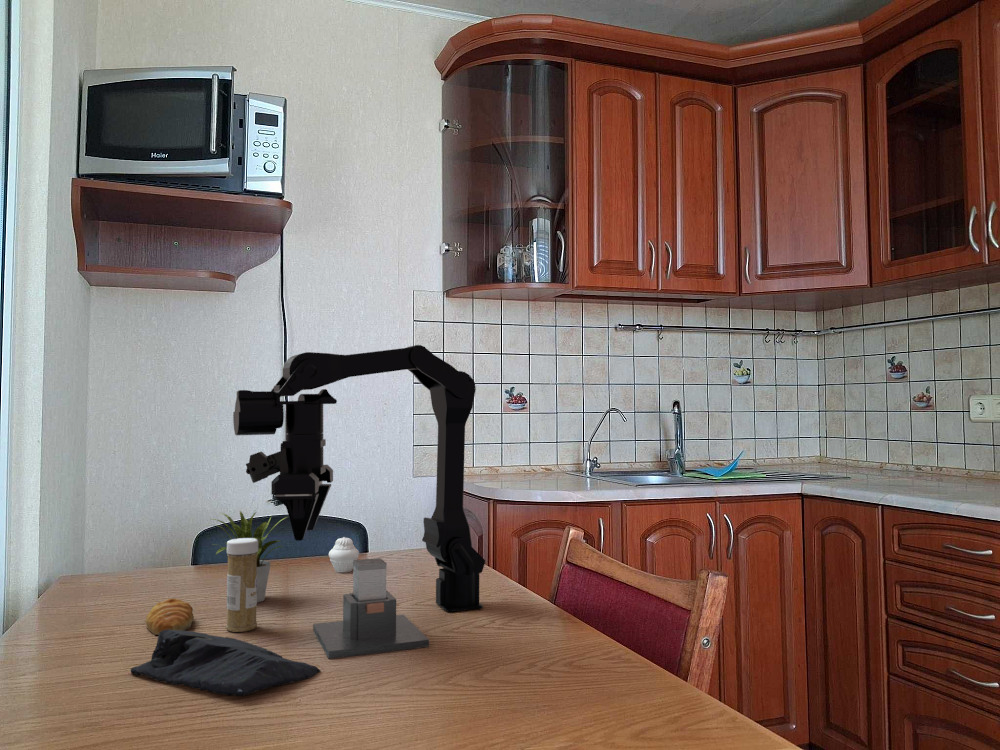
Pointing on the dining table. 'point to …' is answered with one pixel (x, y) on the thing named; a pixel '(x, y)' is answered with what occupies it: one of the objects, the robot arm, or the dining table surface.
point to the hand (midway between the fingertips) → (304, 534)
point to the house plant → (262, 565)
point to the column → (369, 579)
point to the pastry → (169, 616)
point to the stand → (368, 629)
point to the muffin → (343, 555)
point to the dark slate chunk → (219, 664)
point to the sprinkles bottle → (242, 584)
